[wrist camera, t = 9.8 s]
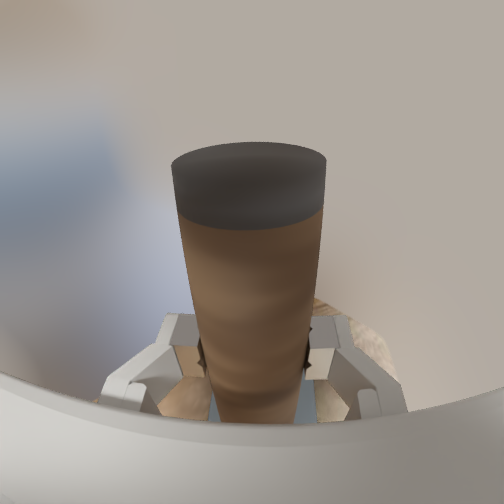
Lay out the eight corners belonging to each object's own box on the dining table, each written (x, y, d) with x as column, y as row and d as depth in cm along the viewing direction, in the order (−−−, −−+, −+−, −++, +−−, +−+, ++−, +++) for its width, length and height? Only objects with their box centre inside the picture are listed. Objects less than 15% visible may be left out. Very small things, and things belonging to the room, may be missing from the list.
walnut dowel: (223, 463, 13) (148, 184, 5) (229, 410, 16) (191, 144, 8) (290, 465, 13) (342, 182, 5) (289, 412, 16) (314, 142, 8)
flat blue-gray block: (213, 439, 29) (207, 423, 27) (223, 366, 38) (219, 344, 36) (311, 441, 28) (317, 425, 26) (306, 367, 38) (309, 345, 35)
